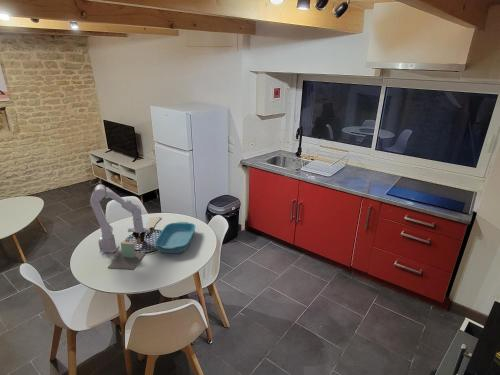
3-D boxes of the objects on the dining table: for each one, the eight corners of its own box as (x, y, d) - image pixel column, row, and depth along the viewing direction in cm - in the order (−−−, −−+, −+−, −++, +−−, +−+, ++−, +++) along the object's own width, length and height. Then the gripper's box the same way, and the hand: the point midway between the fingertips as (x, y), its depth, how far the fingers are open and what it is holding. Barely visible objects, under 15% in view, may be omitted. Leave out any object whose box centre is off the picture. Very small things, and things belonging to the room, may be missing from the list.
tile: (122, 257, 197) (120, 243, 194) (124, 255, 199) (121, 242, 195) (135, 257, 197) (132, 244, 193) (136, 256, 198) (134, 242, 195)
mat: (107, 268, 188) (107, 267, 187) (122, 251, 204) (121, 250, 204) (133, 269, 186) (133, 269, 186) (145, 253, 203) (145, 252, 203)
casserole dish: (168, 229, 233) (167, 220, 230) (198, 229, 232) (198, 221, 229) (151, 257, 199) (150, 247, 196) (186, 258, 198) (185, 248, 195)
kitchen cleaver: (149, 217, 249) (161, 215, 249) (149, 219, 250) (162, 217, 250) (136, 237, 220) (150, 235, 220) (137, 239, 221) (151, 237, 221)
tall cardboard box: (138, 240, 217) (137, 234, 215) (146, 241, 216) (146, 234, 214) (130, 250, 206) (129, 243, 204) (139, 250, 205) (138, 244, 203)
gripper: (151, 221, 211) (153, 238, 216) (130, 220, 213) (133, 237, 218) (146, 226, 205) (149, 244, 210) (125, 225, 206) (128, 243, 211)
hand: (140, 241), depth 213 cm, fingers closed on tall cardboard box, 3 cm apart
